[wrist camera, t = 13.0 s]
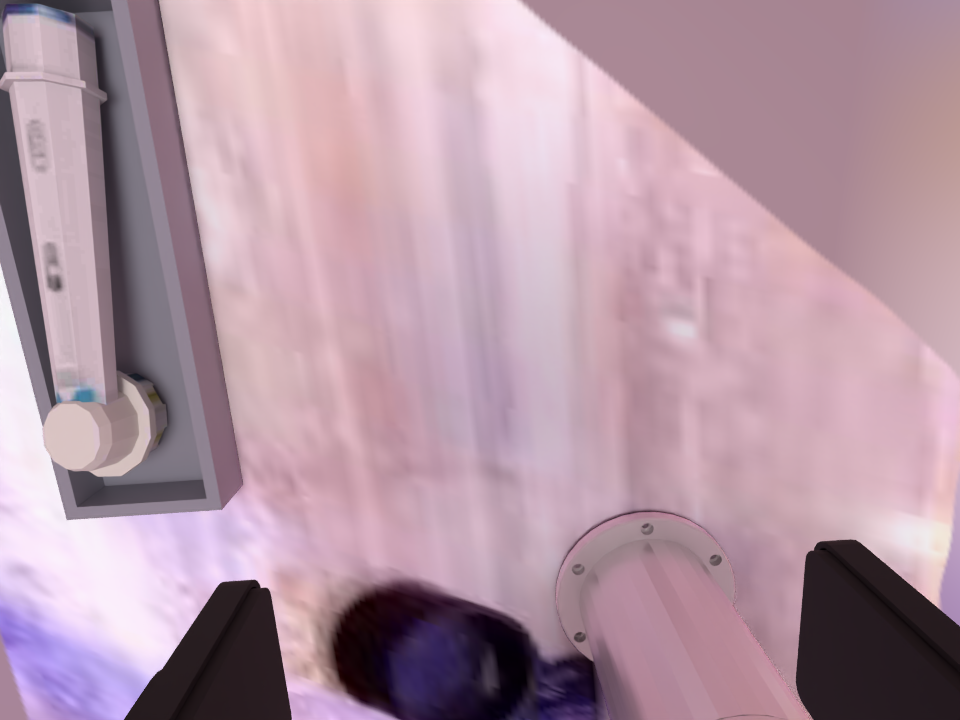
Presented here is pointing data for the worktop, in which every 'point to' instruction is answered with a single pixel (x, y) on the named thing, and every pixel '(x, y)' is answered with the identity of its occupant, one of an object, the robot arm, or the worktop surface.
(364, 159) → the worktop surface
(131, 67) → the tray
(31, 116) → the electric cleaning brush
